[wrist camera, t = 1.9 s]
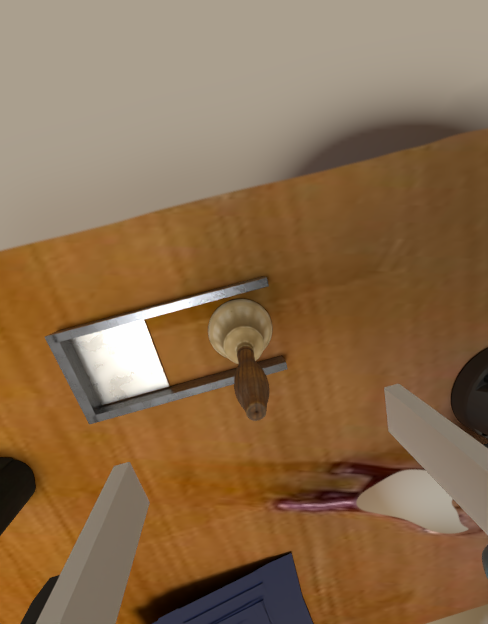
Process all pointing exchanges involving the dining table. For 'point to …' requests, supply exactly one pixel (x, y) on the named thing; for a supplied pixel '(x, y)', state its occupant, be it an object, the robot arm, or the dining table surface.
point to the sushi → (14, 489)
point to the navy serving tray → (250, 600)
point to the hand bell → (244, 350)
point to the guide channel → (134, 359)
